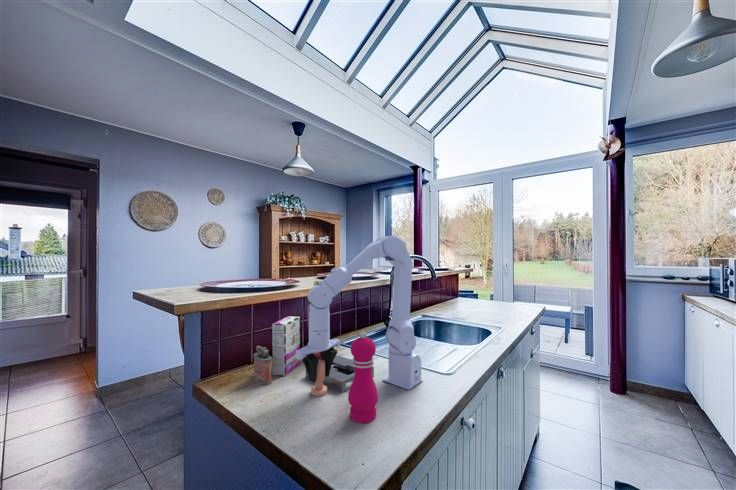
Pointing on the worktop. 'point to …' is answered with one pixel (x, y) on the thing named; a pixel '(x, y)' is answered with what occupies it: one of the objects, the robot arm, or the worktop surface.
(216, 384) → the worktop surface
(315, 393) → the peg
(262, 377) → the lighter
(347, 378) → the keyhole plate
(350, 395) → the pepper mill
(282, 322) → the candy bar box
